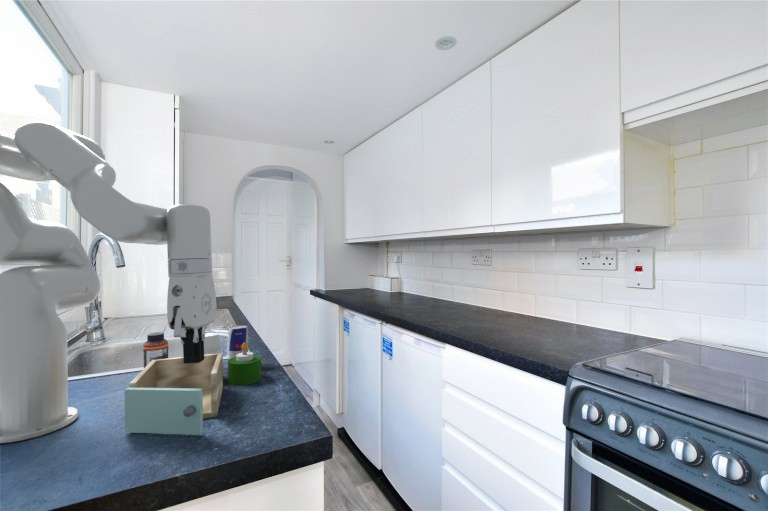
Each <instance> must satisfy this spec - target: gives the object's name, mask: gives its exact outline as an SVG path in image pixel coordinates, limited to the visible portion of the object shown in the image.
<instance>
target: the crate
mask: <svg viewBox="0 0 768 511" xmlns="http://www.w3.org/2000/svg"><path fill="white" fill-rule="evenodd" d="M223 360H224V354H223V352H220V353H216V354H206V355H204V360H203V361H201V362H200V363H187V364H185V363H184V359H183V356H179V357H170V358H169V357H168V358H167V359H157V360H152V361H151V362H150V363H149V364H148V365H147V366H146V367H145V368H144V367H143V369H142V370H141V371H140V372H139V373H138V374H137V375H136V376H135V377H134V378H133V379H132V380H131V381H130V382H129V384H128V386H129V387H131V388H195V389H203V420H204V419H209V418H216V417H217V416H218V413H219V408H220V403H221V398H222V395H223V391H224V365H223V364H224V361H223ZM129 387H128V388H129Z"/></svg>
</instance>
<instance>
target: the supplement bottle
mask: <svg viewBox="0 0 768 511" xmlns="http://www.w3.org/2000/svg"><path fill="white" fill-rule="evenodd" d="M146 337H147V338H146V339H147V340H146V341H145V342H144V343H143V349H142V350H143V351H142V352H143V355H142V356H143V369H144V368H145V367H146V366H147V365H148V364H149V363H150V362H151V361H152V360H157V359H167V358H169V341H168V340H167V339H166V338H165V332H163V331H157V332H150V333H148V334H147V336H146Z"/></svg>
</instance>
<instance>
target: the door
mask: <svg viewBox="0 0 768 511" xmlns="http://www.w3.org/2000/svg"><path fill="white" fill-rule="evenodd" d="M203 432H204V419H203V389H195V388H131V387H126V388H125V389H124V433H129V434H130V433H131V434H132V433H136V434H168V435H169V434H173V435H175V434H176V435H177V434H178V435H201V434H202V433H203Z"/></svg>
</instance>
